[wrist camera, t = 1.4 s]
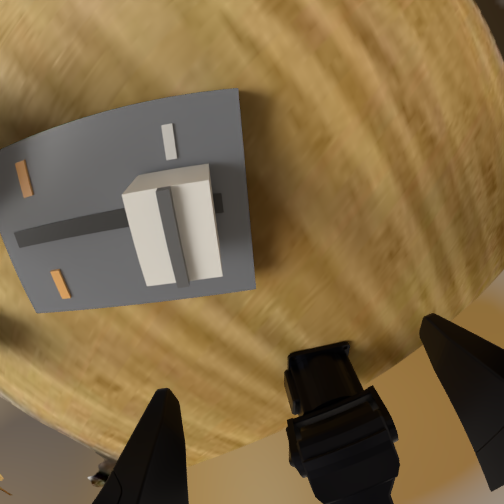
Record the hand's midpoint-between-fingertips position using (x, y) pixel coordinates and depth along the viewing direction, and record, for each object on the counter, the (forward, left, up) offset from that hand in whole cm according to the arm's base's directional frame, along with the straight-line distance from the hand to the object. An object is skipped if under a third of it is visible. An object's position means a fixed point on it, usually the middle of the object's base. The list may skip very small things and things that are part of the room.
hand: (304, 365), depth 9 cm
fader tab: (+4, -2, -10) cm, 11 cm away
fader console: (+9, -2, -13) cm, 16 cm away
